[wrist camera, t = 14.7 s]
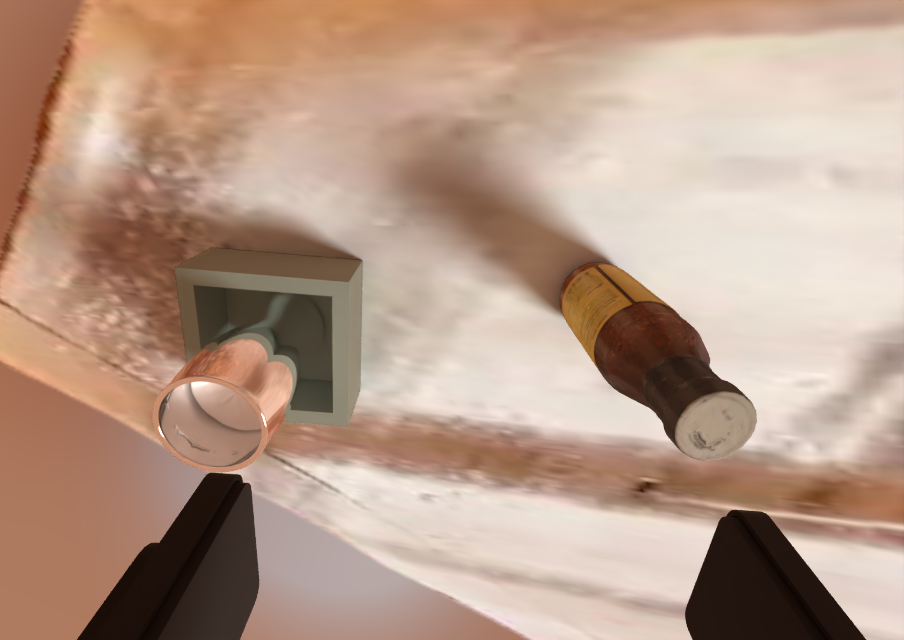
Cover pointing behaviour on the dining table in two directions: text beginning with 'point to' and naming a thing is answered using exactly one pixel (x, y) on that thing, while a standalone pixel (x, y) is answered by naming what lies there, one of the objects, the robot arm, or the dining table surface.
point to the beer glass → (239, 386)
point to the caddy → (262, 274)
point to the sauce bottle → (656, 360)
